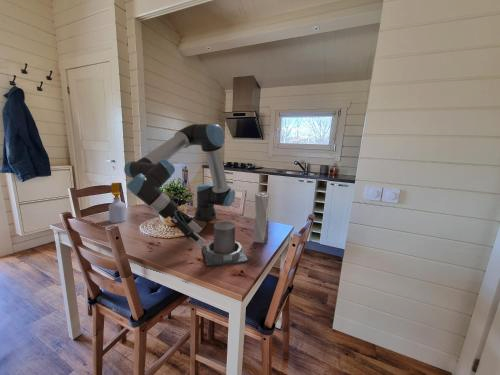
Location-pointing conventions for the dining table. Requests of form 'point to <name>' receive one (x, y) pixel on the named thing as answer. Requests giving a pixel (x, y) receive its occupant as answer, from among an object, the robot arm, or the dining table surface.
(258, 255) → the dining table surface
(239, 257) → the duct collar
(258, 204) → the skyscraper
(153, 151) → the robot arm
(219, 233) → the pillar candle
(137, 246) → the dining table surface
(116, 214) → the soap bottle
